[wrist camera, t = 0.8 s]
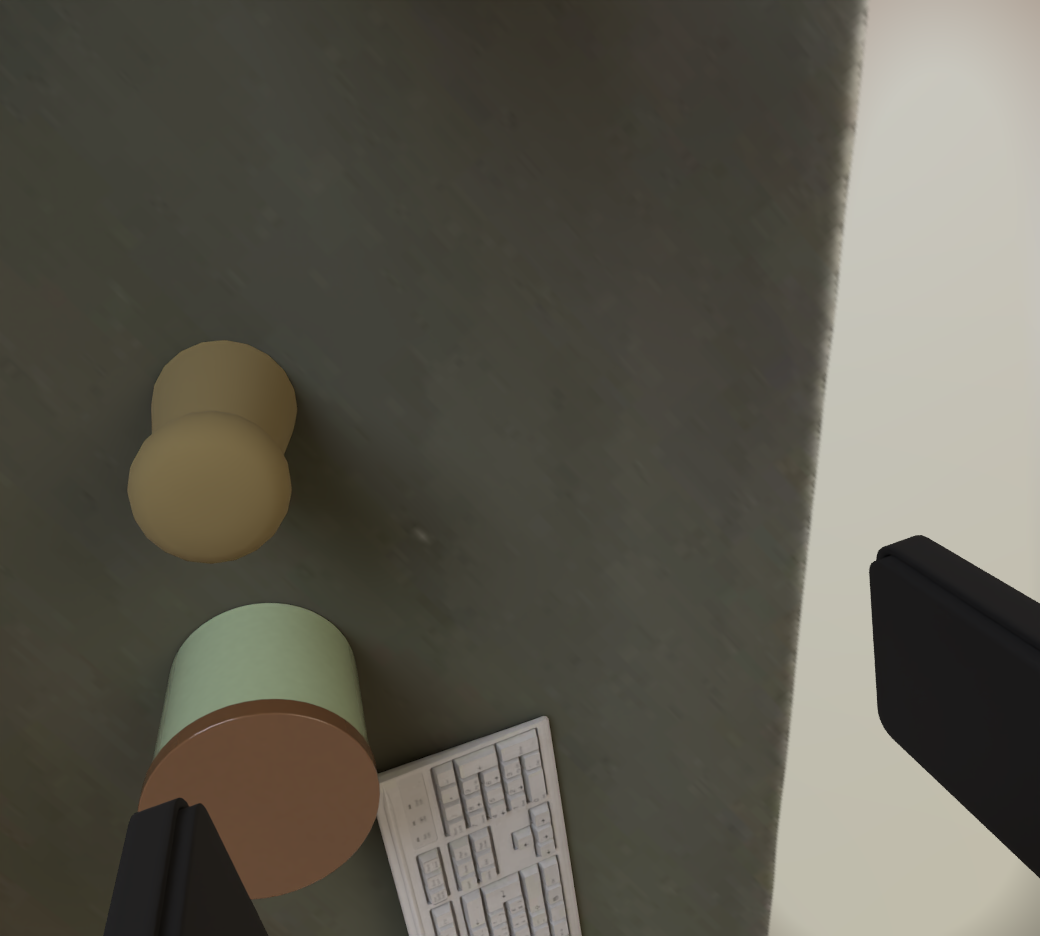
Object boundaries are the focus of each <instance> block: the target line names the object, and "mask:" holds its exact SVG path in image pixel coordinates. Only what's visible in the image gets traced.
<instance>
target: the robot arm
mask: <svg viewBox="0 0 1040 936" xmlns="http://www.w3.org/2000/svg"><path fill="white" fill-rule="evenodd" d="M869 574H870V591H871V608H872V624H873V641H874V655H875V673H876V688H877V706H878V714H879V717H880V720H881V723H882V725H883V727H884V728H885V730H886V731H887V733H888V734H889V735H890V736H891V737H892V739H894V740H895V741H896V742H897V743H898V744H899V745H900V746H901V747H902V748H903V749H904V750H905V751H906V752H907V753H908V754H909V755H911V756H912V758H914V759H915V760H916V761H917V762H918V763H919V764H920V765H921V766H922V767H923V768H924V769H925V770H926V771H927V772H928V773H929V774H931V775H932V776H933V777H934V778H935V779H936V780H937V781H938V782H939V783H940V784H941V785H942V786H943V787H944V788H945V789H946V790H948V792H949V793H950V794H951V795H953V796H954V797H955V798H956V799H957V800H958V801H959V802H960V803H961V804H962V805H963V806H964V807H965V808H966V809H967V810H968V811H969V812H970V813H972V814H973V815H974V816H975V817H976V818H977V819H978V820H979V821H980V822H981V823H982V824H983V825H984V826H986V828H987V829H988V830H990V832H992V833H993V834H994V835H995V836H996V837H997V838H998V839H999V840H1000V841H1001V842H1002V843H1003V844H1004V845H1005V846H1006V847H1007V848H1008V849H1010V850H1011V851H1012V852H1013V853H1014V854H1015V855H1016V856H1017V857H1018V858H1019V859H1020V860H1021V861H1022V862H1023V863H1024V864H1025V865H1026V866H1027V867H1028V868H1029V869H1031V870H1032V871H1033V872H1034V873H1035V874H1036V875H1037V876H1038V877H1039V878H1040V603H1038V602H1036V601H1035V600H1033V599H1031V598H1029V597H1027V596H1026V595H1024V594H1023V593H1021V592H1019V591H1017V590H1016V589H1014V588H1012V587H1011V586H1009V585H1007V584H1006V583H1004V582H1002V581H1000V580H999V579H997V578H995V577H994V576H992V575H990V574H989V573H987V572H985V571H983V570H982V569H980V568H978V567H977V566H975V565H973V564H972V563H970V562H968V561H966V560H965V559H963V558H961V557H960V556H958V555H956V554H954V553H953V552H951V551H949V550H948V549H946V548H944V547H943V546H941V545H939V544H938V543H936V542H934V541H932V540H931V539H929V538H927V537H925V536H922V535H917V536H913V537H910V538H907V539H905V540H902V541H899V542H896V543H893V544H890V545H888V546H885V547H882V548H881V549H880V550H879V551H878V554H877V559H876V561H874V562H873V563H871V565H870V570H869ZM103 936H268V934H267V932H266V930H265V928H264V926H263V924H262V922H261V920H260V918H259V916H258V913H257V911H256V909H255V907H254V905H253V903H252V901H251V899H250V897H249V895H248V893H247V891H246V889H245V887H244V885H243V883H242V881H241V879H240V877H239V875H238V873H237V871H236V869H235V866H234V864H233V862H232V860H231V858H230V856H229V854H228V852H227V850H226V848H225V846H224V844H223V842H222V840H221V838H220V836H219V834H218V832H217V830H216V828H215V826H214V824H213V822H212V820H211V817H210V815H209V813H208V811H207V810H206V808H205V806H204V805H203V804H202V803H198V804H195V805H193V806H190V807H189V805H188V803H187V802H186V801H185V800H184V799H183V798H176V799H174V800H171V801H168V802H165V803H162V804H160V805H157V806H154V807H151V808H148V809H145V810H143V811H140V812H137V813H135V814H134V815H132V816H131V819H130V821H129V825H128V829H127V834H126V838H125V842H124V847H123V851H122V856H121V860H120V864H119V869H118V873H117V878H116V882H115V887H114V891H113V895H112V900H111V904H110V909H109V913H108V918H107V922H106V926H105V931H104V935H103Z"/></svg>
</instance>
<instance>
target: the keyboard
mask: <svg viewBox="0 0 1040 936" xmlns="http://www.w3.org/2000/svg"><path fill="white" fill-rule="evenodd" d="M378 777H379V783H380V801H379V808H378V812H377V819H378V823H379V827H380V830H381V834H382V838H383V841H384V845H385V849H386V852H387V856H388V860H389V863H390V867H391V871H392V875H393V878H394V882H395V886H396V889H397V893H398V897H399V900H400V904H401V908H402V911H403V915H404V919H405V923H406V926H407V930H408V934H409V936H582V935H581V928H580V922H579V915H578V909H577V902H576V896H575V889H574V882H573V876H572V869H571V863H570V856H569V850H568V843H567V837H566V830H565V823H564V817H563V810H562V804H561V797H560V791H559V784H558V777H557V771H556V764H555V758H554V751H553V745H552V738H551V731H550V725H549V719H548V718H547V716H541V717H539V718H536V719H533V720H530V721H528V722H525V723H522V724H519V725H516V726H513V727H510V728H508V729H505V730H502V731H499V732H496V733H493V734H490V735H487V736H485V737H482V738H479V739H476V740H473V741H470V742H467V743H465V744H462V745H459V746H456V747H453V748H450V749H447V750H444V751H442V752H439V753H436V754H433V755H430V756H427V757H424V758H422V759H419V760H416V761H413V762H410V763H407V764H404V765H401V766H399V767H396V768H393V769H390V770H387V771H384V772H381V773H378Z"/></svg>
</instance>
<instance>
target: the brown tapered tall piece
mask: <svg viewBox="0 0 1040 936" xmlns="http://www.w3.org/2000/svg"><path fill="white" fill-rule="evenodd" d="M151 414H152V434H151V435H150V436H149V437H148V438H147V439H146V440H145V441H144V442H143V444H142V446H141V448H140V450H139V452H138V453H137V455H136V457H135V459H134V461H133V463H132V465H131V467H130V473H129V481H128V488H127V492H128V496H129V500H130V504H131V508H132V512H133V516H134V519H135V520H136V522H137V523H138V525H139V526H140V528H141V529H142V531H143V532H144V534H145V535H146V537H147V538H148V539H149V540H151V541H152V542H153V543H154V544H156V545H157V546H158V547H159V548H161V549H162V550H163V551H165V552H166V553H169V554H171V555H174V556H176V557H179V558H181V559H184V560H186V561H192V562H201V563H210V564H213V563H219V562H226V561H232V560H236V559H239V558H241V557H243V556H245V555H247V554H250V553H252V552H254V551H256V550H257V549H259V548H260V547H261V546H262V545H263V544H264V543H265V542H266V541H268V540H269V539H270V538H271V537H272V536H273V535H274V534H275V532H276V531H277V529H278V527H279V526H280V524H281V522H282V520H283V519H284V517H285V515H286V514H287V512H288V507H289V502H290V497H291V492H292V488H291V480H290V474H289V467H288V462H287V460H286V459H285V457H284V454H285V451H286V448H287V446H288V443H289V441H290V438H291V435H292V433H293V430H294V425H295V420H296V415H297V404H296V397H295V391H294V388H293V386H292V384H291V382H290V381H289V379H288V377H287V375H286V373H285V371H284V370H283V369H282V368H281V367H280V366H279V365H278V364H277V363H276V362H275V361H274V360H273V359H272V358H271V357H270V356H269V355H267V354H265V353H263V352H261V351H259V350H258V349H256V348H254V347H252V346H250V345H248V344H242V343H237V342H232V341H227V340H222V341H212V342H202V343H200V344H197V345H195V346H193V347H190V348H188V349H186V350H183V351H181V352H180V353H179V354H178V355H176V356H175V357H174V358H173V359H172V360H171V361H170V362H169V363H168V364H166V365H165V366H164V368H163V370H162V372H161V373H160V375H159V377H158V379H157V381H156V383H155V385H154V390H153V397H152V405H151Z"/></svg>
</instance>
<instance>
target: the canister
mask: <svg viewBox="0 0 1040 936" xmlns="http://www.w3.org/2000/svg"><path fill="white" fill-rule="evenodd" d="M176 798H183V799H184V800H185V801H186V802H187V803H188V805H189V807H190V806H193V805H195V804H198V803H202V804H203V805H204V806H205V808H206V810H207V811H208V813H209V815H210V817H211V820H212V822H213V824H214V826H215V828H216V830H217V832H218V834H219V836H220V838H221V840H222V842H223V844H224V846H225V848H226V850H227V852H228V854H229V856H230V858H231V860H232V862H233V864H234V866H235V869H236V871H237V873H238V875H239V877H240V879H241V881H242V883H243V885H244V887H245V889H246V891H247V893H248V895H249V897H250V899H251V900H253V899H262V898H269V897H274V896H279V895H283V894H287V893H290V892H293V891H296V890H299V889H301V888H304V887H306V886H309V885H311V884H313V883H315V882H317V881H319V880H321V879H322V878H324V877H326V876H327V875H329V874H330V873H332V872H333V871H335V870H336V869H337V868H339V867H340V866H341V865H342V864H344V863H345V862H346V861H347V860H348V859H349V858H350V857H351V856H352V855H353V854H354V853H355V852H356V851H357V850H358V848H359V847H360V846H361V844H362V843H363V842H364V840H365V839H366V837H367V835H368V834H369V832H370V830H371V828H372V826H373V823H374V821H375V819H376V815H377V812H378V808H379V801H380V783H379V777H378V771H377V766H376V762H375V758H374V756H373V753H372V751H371V748H370V747H369V744H368V738H367V732H366V725H365V719H364V712H363V706H362V699H361V693H360V687H359V680H358V674H357V667H356V662H355V658H354V654H353V652H352V649H351V647H350V645H349V643H348V642H347V640H346V638H345V637H344V636H343V634H342V633H341V632H340V631H339V630H338V629H337V628H336V627H335V626H334V625H333V624H332V623H331V622H329V621H328V620H326V619H325V618H323V617H322V616H320V615H318V614H316V613H314V612H312V611H310V610H307V609H304V608H301V607H298V606H293V605H289V604H280V603H260V604H251V605H246V606H242V607H238V608H235V609H232V610H229V611H226V612H224V613H222V614H220V615H218V616H216V617H214V618H212V619H211V620H209V621H207V622H206V623H204V624H203V625H202V626H200V627H199V628H198V629H197V630H196V631H194V632H193V633H192V634H191V635H190V637H189V638H188V639H187V640H186V641H185V642H184V644H183V645H182V646H181V648H180V649H179V651H178V653H177V655H176V657H175V659H174V661H173V664H172V667H171V670H170V675H169V680H168V685H167V690H166V695H165V700H164V705H163V711H162V716H161V721H160V726H159V731H158V736H157V742H156V747H155V752H154V757H153V762H152V764H151V766H150V767H149V769H148V771H147V774H146V777H145V779H144V782H143V786H142V790H141V795H140V801H139V806H138V812H140V811H143V810H145V809H148V808H151V807H154V806H157V805H160V804H162V803H165V802H168V801H171V800H174V799H176Z"/></svg>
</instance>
